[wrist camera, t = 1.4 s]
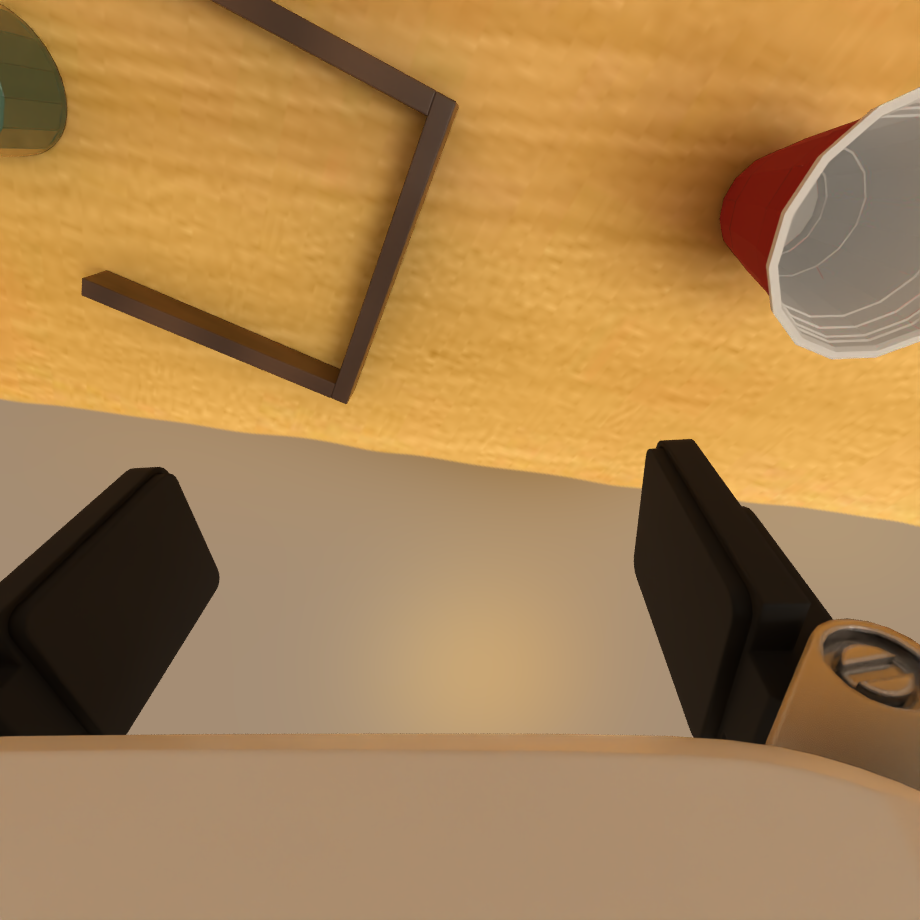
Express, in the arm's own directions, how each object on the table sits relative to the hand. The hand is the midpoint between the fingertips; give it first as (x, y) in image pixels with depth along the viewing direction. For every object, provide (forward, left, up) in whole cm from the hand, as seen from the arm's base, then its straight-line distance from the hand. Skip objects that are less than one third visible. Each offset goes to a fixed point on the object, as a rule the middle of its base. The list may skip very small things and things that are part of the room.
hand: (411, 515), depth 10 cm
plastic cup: (+2, +19, -27) cm, 33 cm away
